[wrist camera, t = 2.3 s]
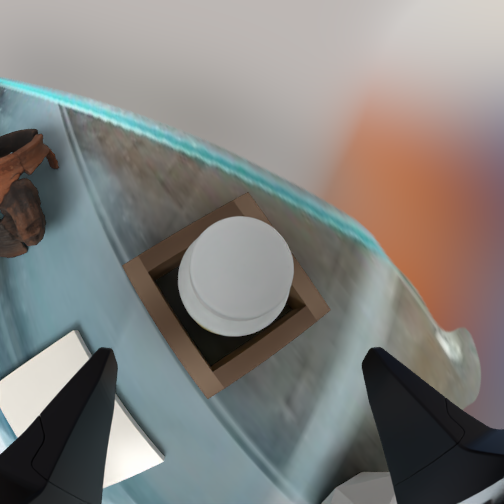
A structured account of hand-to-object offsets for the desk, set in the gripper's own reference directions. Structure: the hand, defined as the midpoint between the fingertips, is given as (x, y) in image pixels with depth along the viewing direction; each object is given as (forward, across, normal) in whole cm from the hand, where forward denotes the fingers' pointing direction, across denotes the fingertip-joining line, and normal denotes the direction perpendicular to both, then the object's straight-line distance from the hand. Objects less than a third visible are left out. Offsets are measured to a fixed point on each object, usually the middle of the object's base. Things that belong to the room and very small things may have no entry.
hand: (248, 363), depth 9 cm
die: (-3, -10, +18) cm, 21 cm away
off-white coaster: (+2, +12, +13) cm, 17 cm away
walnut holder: (+10, 0, +5) cm, 11 cm away
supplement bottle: (+10, 0, +5) cm, 11 cm away
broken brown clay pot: (+14, +18, +1) cm, 23 cm away
